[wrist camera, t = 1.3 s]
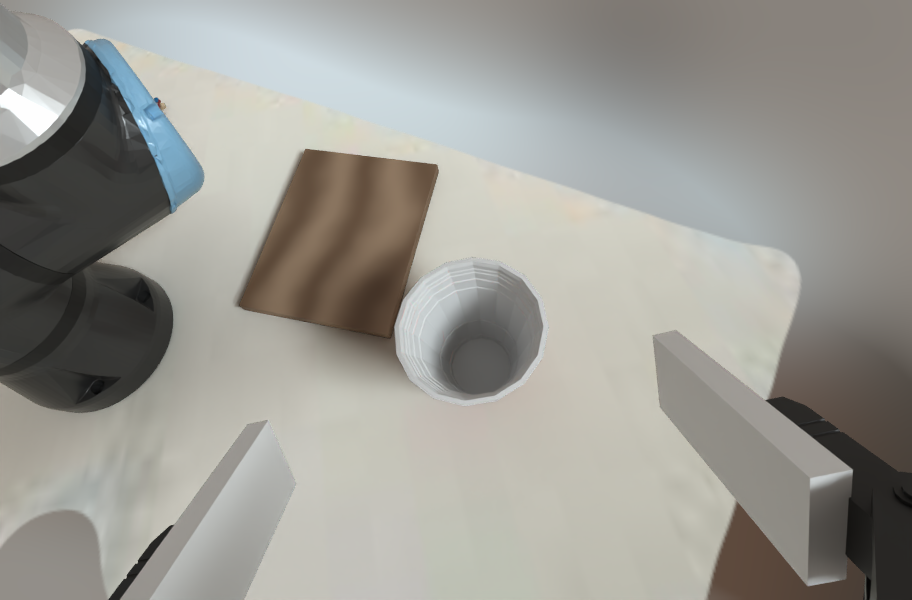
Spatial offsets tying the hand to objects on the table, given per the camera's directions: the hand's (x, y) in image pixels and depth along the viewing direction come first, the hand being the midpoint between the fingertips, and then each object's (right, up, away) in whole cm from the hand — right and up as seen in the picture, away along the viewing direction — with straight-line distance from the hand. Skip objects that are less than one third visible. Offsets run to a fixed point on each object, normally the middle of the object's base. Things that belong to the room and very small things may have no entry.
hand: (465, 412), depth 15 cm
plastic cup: (+2, -2, +27) cm, 27 cm away
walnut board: (-12, +11, +33) cm, 37 cm away
